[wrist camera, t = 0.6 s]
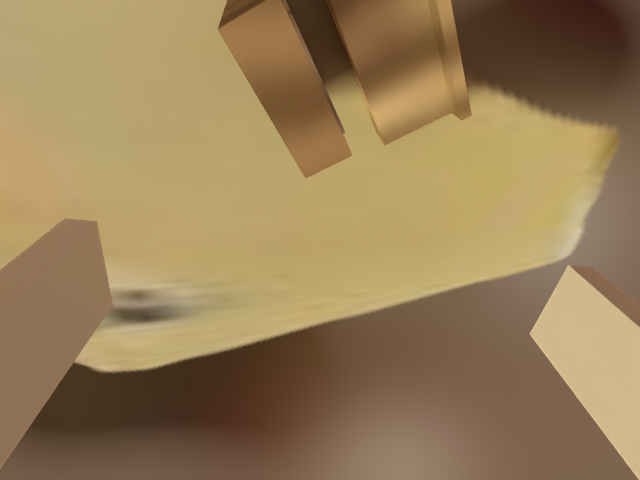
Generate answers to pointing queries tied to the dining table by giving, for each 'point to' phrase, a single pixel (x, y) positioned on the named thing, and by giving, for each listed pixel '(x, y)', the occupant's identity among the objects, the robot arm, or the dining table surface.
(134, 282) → the dining table surface
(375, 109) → the ledge
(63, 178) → the dining table surface
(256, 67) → the wooden block
